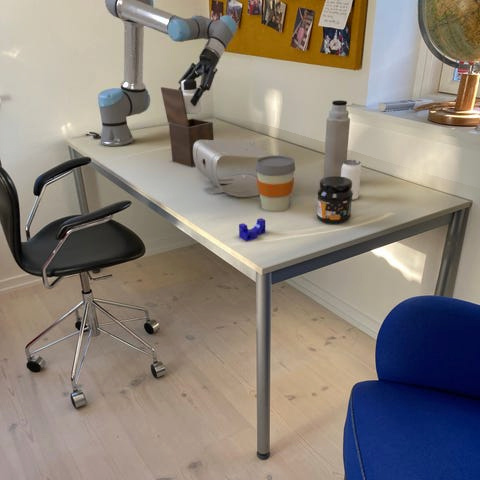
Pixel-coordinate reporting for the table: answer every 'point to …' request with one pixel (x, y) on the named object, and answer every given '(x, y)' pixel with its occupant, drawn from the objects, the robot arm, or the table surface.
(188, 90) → the medicine bottle
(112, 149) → the table surface
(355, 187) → the can
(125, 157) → the table surface
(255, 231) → the cable holder
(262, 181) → the reusable coffee cup
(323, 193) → the supplement container
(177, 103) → the lid
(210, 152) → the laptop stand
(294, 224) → the table surface
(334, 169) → the thermos bottle
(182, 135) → the chest
